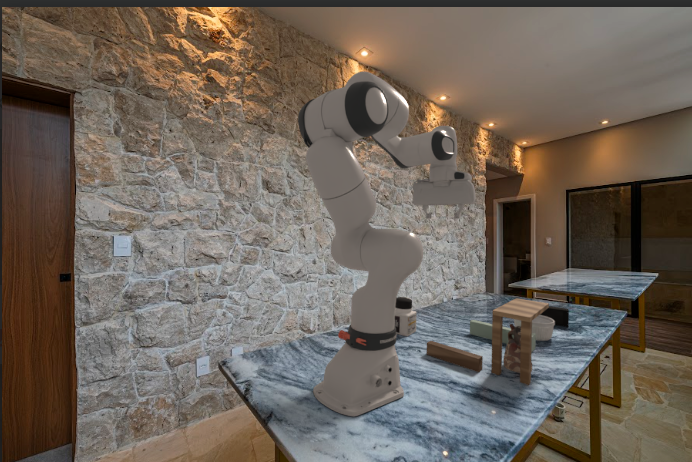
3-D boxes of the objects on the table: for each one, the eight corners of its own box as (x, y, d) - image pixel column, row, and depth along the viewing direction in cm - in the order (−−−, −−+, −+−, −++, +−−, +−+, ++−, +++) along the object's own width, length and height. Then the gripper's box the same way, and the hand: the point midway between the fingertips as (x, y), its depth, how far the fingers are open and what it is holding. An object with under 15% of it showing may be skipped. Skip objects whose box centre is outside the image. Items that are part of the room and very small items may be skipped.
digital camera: (567, 323, 128) (567, 307, 128) (568, 327, 123) (569, 310, 123) (538, 319, 133) (539, 304, 133) (538, 322, 129) (539, 306, 129)
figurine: (517, 374, 81) (518, 330, 81) (497, 363, 88) (498, 322, 88) (538, 372, 83) (539, 329, 83) (517, 361, 90) (518, 321, 90)
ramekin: (563, 343, 105) (563, 323, 105) (525, 342, 106) (526, 322, 106) (539, 330, 119) (540, 313, 119) (506, 329, 119) (506, 312, 119)
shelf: (528, 385, 75) (530, 317, 75) (491, 372, 82) (492, 310, 82) (547, 359, 91) (548, 303, 91) (515, 350, 97) (516, 298, 97)
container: (407, 336, 108) (408, 301, 108) (388, 332, 113) (389, 298, 113) (416, 331, 115) (417, 297, 115) (398, 327, 119) (399, 294, 119)
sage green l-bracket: (523, 360, 91) (523, 343, 90) (457, 340, 106) (457, 326, 106) (535, 349, 100) (535, 334, 100) (472, 332, 115) (472, 319, 115)
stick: (478, 373, 82) (479, 358, 82) (426, 355, 93) (426, 342, 93) (482, 370, 84) (482, 356, 84) (430, 353, 95) (430, 340, 95)
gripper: (409, 178, 102) (409, 218, 103) (473, 173, 91) (473, 218, 92) (416, 180, 108) (415, 219, 108) (477, 176, 97) (476, 218, 97)
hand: (442, 218), depth 100 cm, fingers open, 8 cm apart
